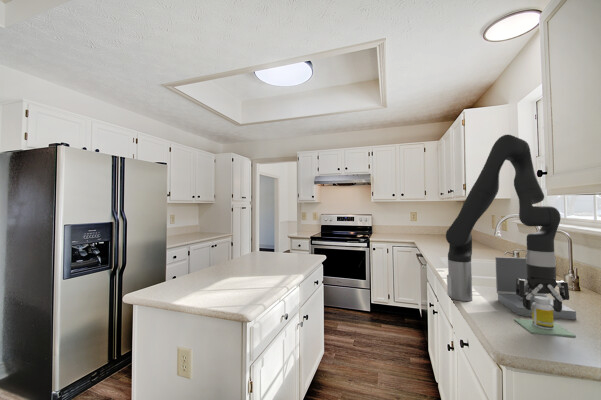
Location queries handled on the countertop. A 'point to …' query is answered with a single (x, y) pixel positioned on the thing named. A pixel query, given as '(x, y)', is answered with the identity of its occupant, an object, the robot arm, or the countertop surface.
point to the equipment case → (506, 287)
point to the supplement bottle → (542, 313)
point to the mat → (536, 330)
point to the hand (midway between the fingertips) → (542, 310)
